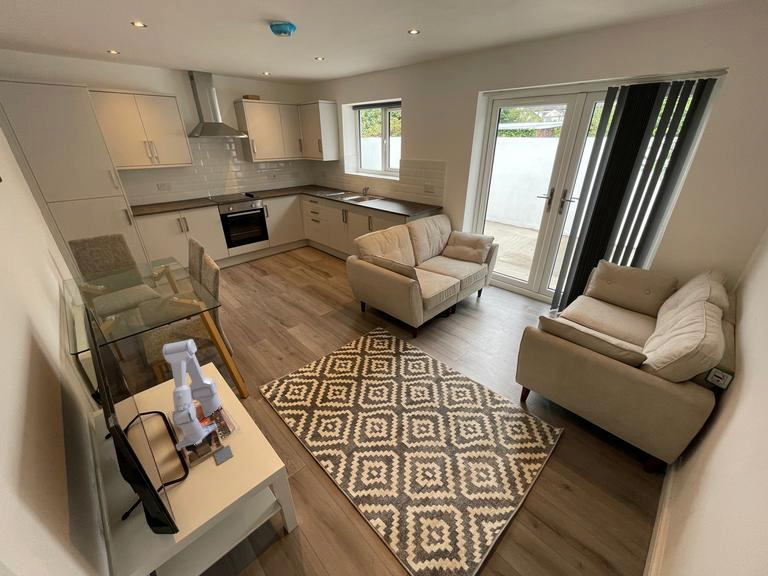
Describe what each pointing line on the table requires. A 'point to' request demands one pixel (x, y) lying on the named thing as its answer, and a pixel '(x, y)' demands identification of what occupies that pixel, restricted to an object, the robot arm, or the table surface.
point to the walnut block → (203, 448)
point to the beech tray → (206, 454)
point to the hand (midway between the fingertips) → (204, 448)
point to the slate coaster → (223, 454)
